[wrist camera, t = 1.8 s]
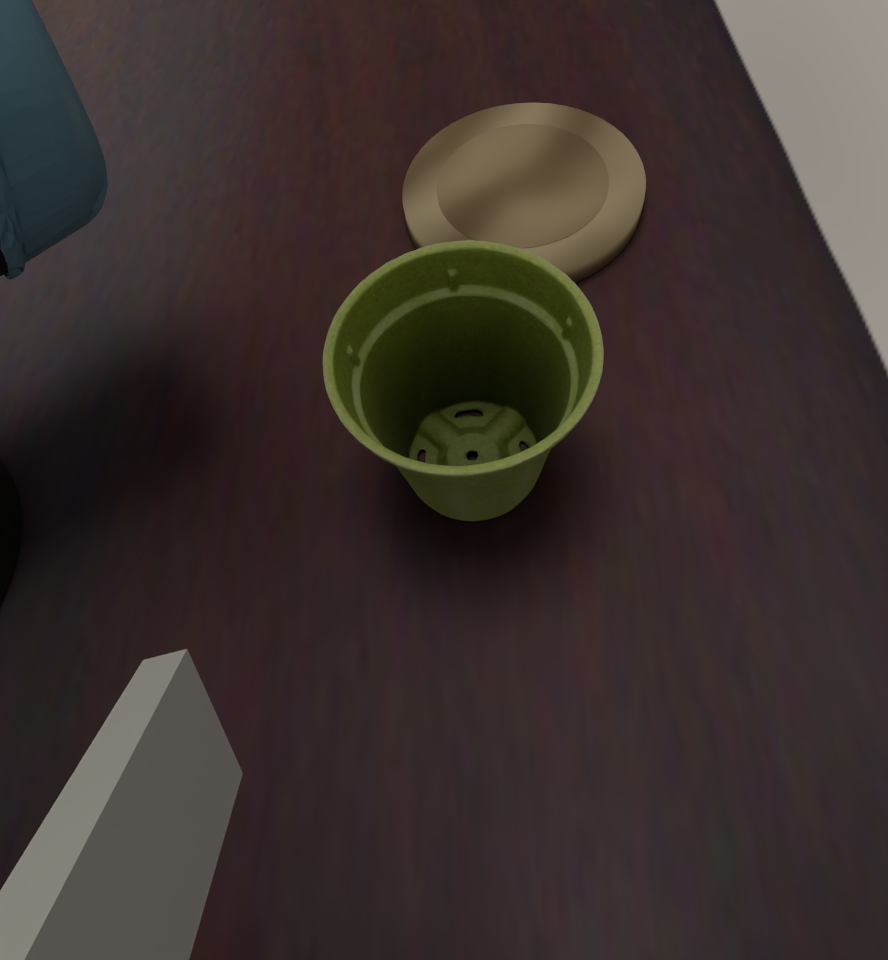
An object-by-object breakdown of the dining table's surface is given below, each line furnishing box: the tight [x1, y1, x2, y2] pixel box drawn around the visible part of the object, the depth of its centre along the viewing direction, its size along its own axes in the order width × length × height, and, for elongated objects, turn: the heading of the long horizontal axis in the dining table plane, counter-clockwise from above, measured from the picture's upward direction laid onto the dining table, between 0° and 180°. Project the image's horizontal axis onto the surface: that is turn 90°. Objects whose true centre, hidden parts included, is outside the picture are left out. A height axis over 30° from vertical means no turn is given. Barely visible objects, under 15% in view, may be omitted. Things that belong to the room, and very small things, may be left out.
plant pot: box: [323, 240, 604, 521], centre depth 25 cm, size 9×9×9 cm
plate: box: [403, 103, 646, 283], centre depth 35 cm, size 13×13×1 cm
